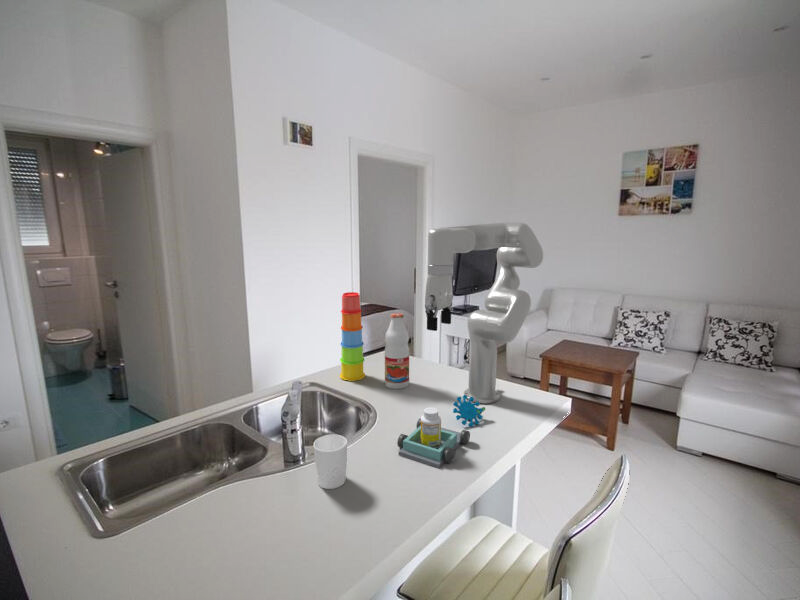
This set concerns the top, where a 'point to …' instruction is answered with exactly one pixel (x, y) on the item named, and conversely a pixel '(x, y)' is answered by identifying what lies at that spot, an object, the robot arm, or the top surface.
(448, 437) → the chassis
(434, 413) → the supplement bottle
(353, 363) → the stacking cups
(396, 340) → the fruit juice
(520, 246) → the robot arm
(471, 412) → the gear
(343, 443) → the white cup
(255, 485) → the top surface
